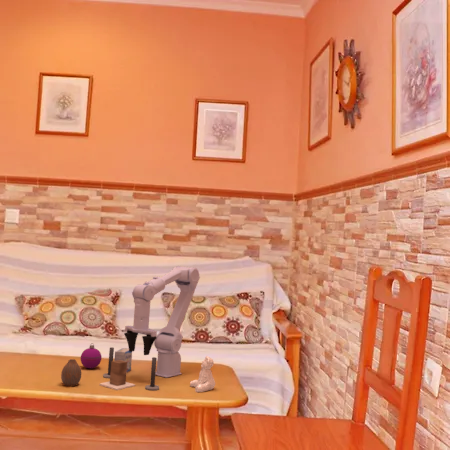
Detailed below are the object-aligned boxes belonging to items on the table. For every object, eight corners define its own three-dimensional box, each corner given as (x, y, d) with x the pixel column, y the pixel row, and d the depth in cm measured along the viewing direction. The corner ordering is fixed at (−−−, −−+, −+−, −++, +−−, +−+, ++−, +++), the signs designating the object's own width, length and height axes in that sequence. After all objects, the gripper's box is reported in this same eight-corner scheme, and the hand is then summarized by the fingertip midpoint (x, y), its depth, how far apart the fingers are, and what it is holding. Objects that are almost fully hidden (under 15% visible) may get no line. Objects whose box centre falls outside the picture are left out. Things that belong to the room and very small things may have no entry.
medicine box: (123, 374, 219) (125, 352, 219) (113, 373, 220) (114, 351, 220) (131, 370, 227) (132, 348, 227) (120, 369, 228) (122, 347, 228)
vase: (62, 387, 194) (64, 362, 195) (58, 382, 200) (60, 358, 201) (82, 386, 198) (84, 361, 198) (78, 381, 204) (79, 357, 204)
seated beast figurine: (188, 385, 209) (190, 353, 209) (210, 385, 212) (212, 353, 212) (196, 392, 200) (198, 358, 200) (218, 392, 203) (221, 358, 203)
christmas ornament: (79, 370, 221) (81, 344, 221) (79, 365, 229) (81, 341, 229) (100, 370, 223) (102, 345, 223) (100, 366, 231) (102, 341, 231)
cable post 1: (110, 374, 218) (112, 346, 218) (119, 377, 215) (121, 348, 215) (100, 376, 213) (102, 347, 214) (109, 379, 211) (111, 349, 211)
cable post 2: (151, 386, 205) (154, 355, 205) (162, 389, 202) (164, 358, 202) (142, 388, 201) (144, 357, 201) (152, 391, 198) (154, 360, 198)
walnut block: (117, 381, 205) (119, 359, 206) (125, 384, 203) (127, 361, 203) (109, 383, 202) (111, 361, 202) (117, 386, 200) (119, 363, 200)
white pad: (117, 380, 209) (117, 379, 209) (135, 385, 203) (135, 384, 203) (99, 384, 201) (99, 383, 201) (116, 390, 196) (116, 388, 196)
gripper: (120, 314, 212) (117, 351, 212) (148, 320, 204) (145, 357, 203) (133, 313, 218) (131, 348, 218) (161, 318, 209) (158, 355, 209)
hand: (139, 353), depth 211 cm, fingers open, 7 cm apart
